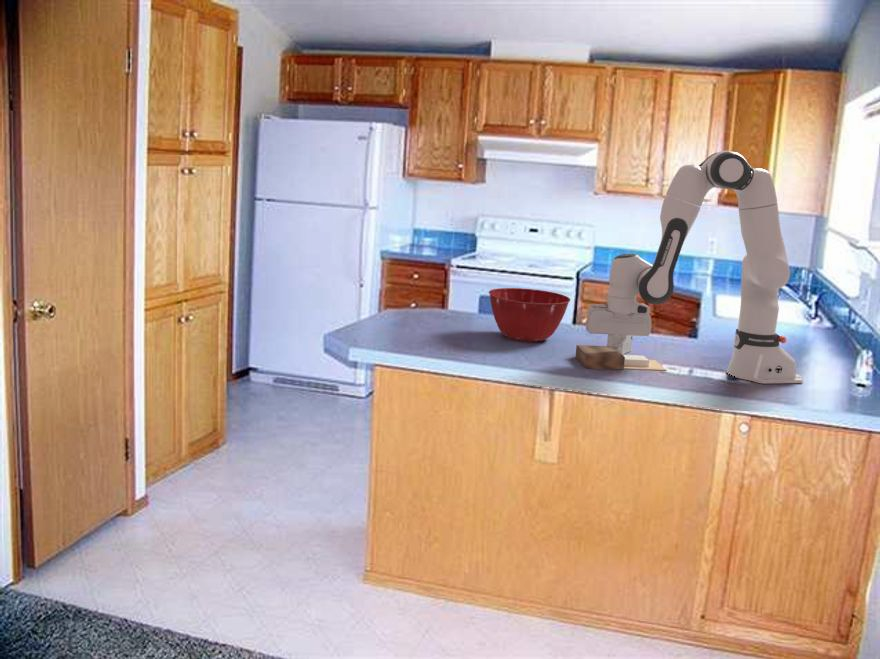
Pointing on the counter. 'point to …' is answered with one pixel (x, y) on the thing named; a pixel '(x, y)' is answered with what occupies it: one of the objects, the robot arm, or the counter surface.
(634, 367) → the mat
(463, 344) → the counter surface
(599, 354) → the brown box
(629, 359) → the white rectangular prism
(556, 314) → the mixing bowl
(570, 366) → the counter surface
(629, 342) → the skincare box
